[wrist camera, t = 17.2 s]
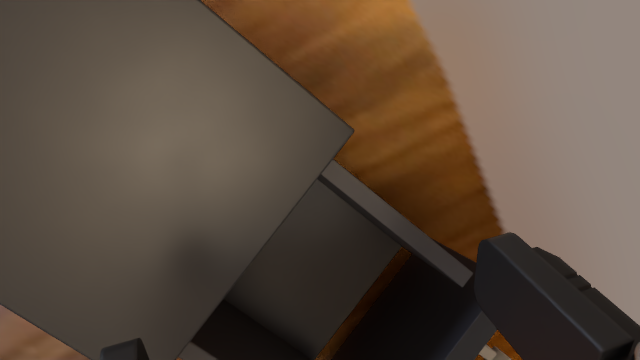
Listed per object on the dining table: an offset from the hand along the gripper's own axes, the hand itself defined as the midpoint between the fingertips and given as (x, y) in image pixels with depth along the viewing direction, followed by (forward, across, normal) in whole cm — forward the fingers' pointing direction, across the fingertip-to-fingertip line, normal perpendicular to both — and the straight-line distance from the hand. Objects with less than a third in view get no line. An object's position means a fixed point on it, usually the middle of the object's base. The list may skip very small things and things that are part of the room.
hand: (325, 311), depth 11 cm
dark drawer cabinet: (+19, +5, +2) cm, 20 cm away
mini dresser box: (+14, -3, +11) cm, 18 cm away
